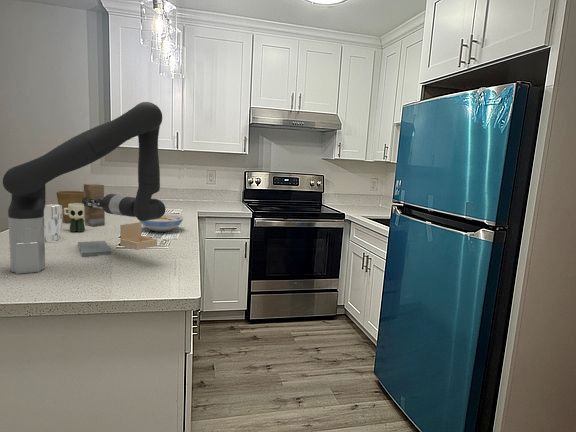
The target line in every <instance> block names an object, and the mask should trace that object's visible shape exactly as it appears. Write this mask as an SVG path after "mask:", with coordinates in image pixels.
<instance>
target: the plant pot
mask: <svg viewBox="0 0 576 432" xmlns="http://www.w3.org/2000/svg"><path fill="white" fill-rule="evenodd" d="M55 194H56V198H57V204H58V205H62V211H63V221H64V222H65V223H66V224H70V223H71V219H72V218H69V216H68V215H64V208H68V204H73V203H81V204H83V203H82V198H84V190H83V191H81V190H80V191H79V190H59V191H56V192H55ZM66 213H68V210H66ZM82 219H83V220H84V218H82Z"/></svg>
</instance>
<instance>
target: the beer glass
mask: <svg viewBox="0 0 576 432" xmlns="http://www.w3.org/2000/svg"><path fill="white" fill-rule="evenodd" d="M63 221H64V219H63V211H62V205H59V204H58V203H57V204H56V203H55V204H52V203H51V204H50V203H49V204H45V208H44V230H45V242H47V243H58V242H62V240H63V238H62V237H63V236H62V226H63Z"/></svg>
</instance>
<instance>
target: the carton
mask: <svg viewBox="0 0 576 432" xmlns="http://www.w3.org/2000/svg"><path fill="white" fill-rule="evenodd" d="M142 226H143V225H142V222H140V221H137V222H131V223H124V224H120V239H119V241H120V244H119V245H120V247H124V248H128V249H132V250H136V251H138V250H143V249H144V250H145V249H148V248H152V247H153V248H154V247H157V246H158V238H153V237H150V236H145V235H142V228H143V227H142Z"/></svg>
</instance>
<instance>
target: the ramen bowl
mask: <svg viewBox="0 0 576 432" xmlns="http://www.w3.org/2000/svg"><path fill="white" fill-rule="evenodd" d="M184 219H185V216H184V215H182V214H176V213H175V214H174V213H167V212H165V214H164V215H163V216H162V217H161V218H158V219H153V220H148V221H140V220H138V222H142V226H143V227H145V228H146V229H149V230H151V231H153V232H157V233H167V232H169V231H171V230H174V229H176V228H178V227H179V226H180V225H181V224H182V222H183V220H184Z"/></svg>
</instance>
